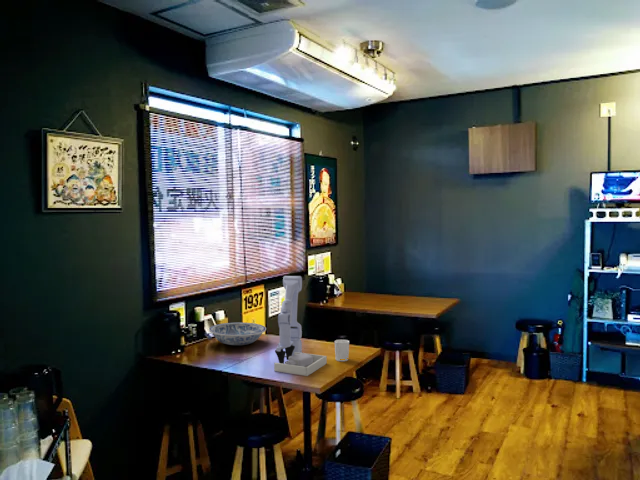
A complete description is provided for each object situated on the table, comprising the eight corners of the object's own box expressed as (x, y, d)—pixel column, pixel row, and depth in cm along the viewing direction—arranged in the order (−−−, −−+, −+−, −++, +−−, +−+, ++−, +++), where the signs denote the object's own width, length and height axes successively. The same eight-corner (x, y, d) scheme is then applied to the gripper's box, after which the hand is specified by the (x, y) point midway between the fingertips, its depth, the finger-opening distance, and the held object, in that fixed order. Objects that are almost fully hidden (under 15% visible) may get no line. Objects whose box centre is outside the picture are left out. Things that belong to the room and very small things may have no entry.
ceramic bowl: (262, 351, 277) (262, 334, 276) (202, 351, 277) (202, 334, 277) (269, 337, 311) (269, 321, 311) (216, 336, 312) (216, 321, 311)
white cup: (348, 357, 265) (348, 339, 264) (349, 361, 257) (349, 343, 256) (334, 357, 264) (334, 339, 264) (335, 362, 257) (335, 343, 256)
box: (295, 359, 261) (295, 352, 261) (326, 363, 254) (326, 356, 253) (274, 370, 242) (274, 363, 241) (307, 376, 234) (307, 367, 234)
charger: (279, 367, 248) (301, 361, 259) (291, 371, 242) (313, 365, 252) (279, 358, 248) (301, 352, 258) (291, 362, 241) (313, 356, 252)
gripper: (285, 332, 259) (285, 357, 260) (271, 338, 246) (271, 364, 247) (296, 333, 256) (297, 358, 257) (283, 339, 243) (283, 366, 244)
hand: (285, 361), depth 251 cm, fingers open, 7 cm apart
